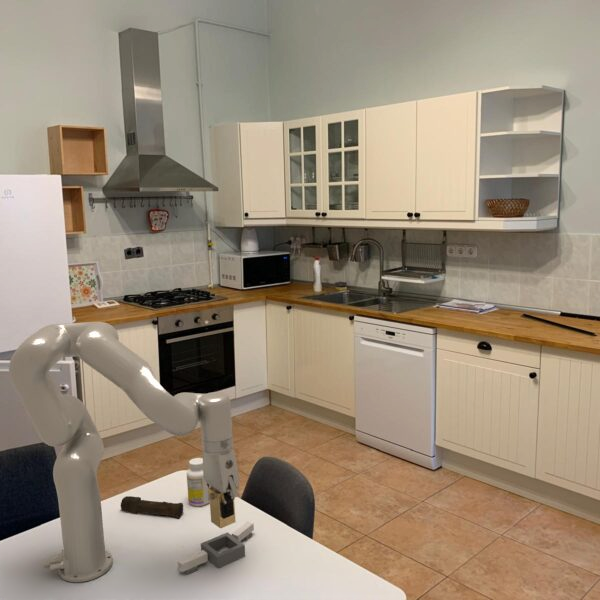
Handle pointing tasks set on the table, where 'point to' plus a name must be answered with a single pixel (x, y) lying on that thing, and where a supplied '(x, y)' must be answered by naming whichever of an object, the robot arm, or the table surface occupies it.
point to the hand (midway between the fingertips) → (222, 511)
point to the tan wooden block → (219, 509)
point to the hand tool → (151, 507)
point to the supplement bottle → (197, 483)
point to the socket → (218, 543)
